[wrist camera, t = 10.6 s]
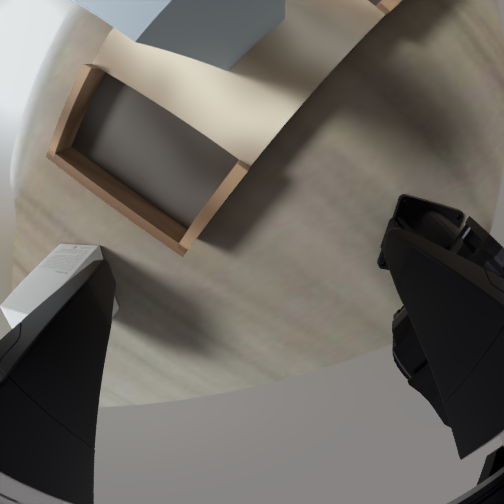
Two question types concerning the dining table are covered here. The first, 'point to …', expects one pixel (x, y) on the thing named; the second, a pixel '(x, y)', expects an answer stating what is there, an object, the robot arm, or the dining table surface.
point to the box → (195, 115)
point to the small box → (49, 280)
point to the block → (193, 25)
